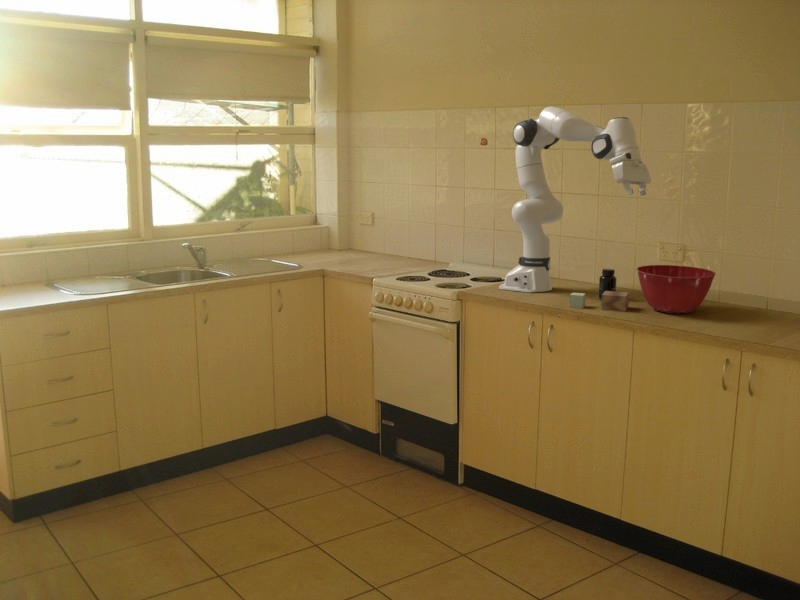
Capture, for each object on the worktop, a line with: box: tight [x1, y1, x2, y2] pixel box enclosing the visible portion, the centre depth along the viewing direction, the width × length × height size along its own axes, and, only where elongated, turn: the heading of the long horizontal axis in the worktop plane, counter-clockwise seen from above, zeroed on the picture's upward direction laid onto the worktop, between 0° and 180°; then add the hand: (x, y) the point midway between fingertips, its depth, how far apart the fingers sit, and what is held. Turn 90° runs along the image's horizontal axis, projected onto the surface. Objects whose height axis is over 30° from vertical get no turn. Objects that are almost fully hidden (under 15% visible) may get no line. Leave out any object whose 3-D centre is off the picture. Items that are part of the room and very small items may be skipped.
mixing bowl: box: [636, 264, 717, 315], centre depth 311 cm, size 28×28×15 cm
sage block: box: [568, 292, 586, 309], centre depth 319 cm, size 5×5×5 cm
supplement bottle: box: [597, 268, 617, 300], centre depth 334 cm, size 7×7×12 cm
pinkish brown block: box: [600, 290, 630, 312], centre depth 315 cm, size 9×9×6 cm
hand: (637, 194), depth 302 cm, fingers open, 8 cm apart
